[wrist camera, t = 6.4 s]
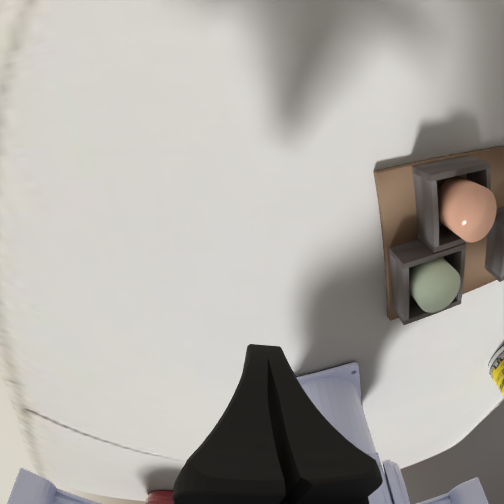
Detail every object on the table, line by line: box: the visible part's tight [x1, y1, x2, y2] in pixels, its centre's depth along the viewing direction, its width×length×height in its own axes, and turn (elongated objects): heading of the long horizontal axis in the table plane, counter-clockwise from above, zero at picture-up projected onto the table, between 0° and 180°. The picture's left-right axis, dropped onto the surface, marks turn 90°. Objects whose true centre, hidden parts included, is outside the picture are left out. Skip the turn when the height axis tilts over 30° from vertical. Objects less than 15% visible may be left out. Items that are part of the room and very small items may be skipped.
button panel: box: [374, 146, 504, 325], centre depth 19 cm, size 12×15×3 cm
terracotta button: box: [437, 176, 497, 243], centre depth 16 cm, size 4×4×3 cm
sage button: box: [409, 257, 460, 313], centre depth 20 cm, size 4×4×3 cm
